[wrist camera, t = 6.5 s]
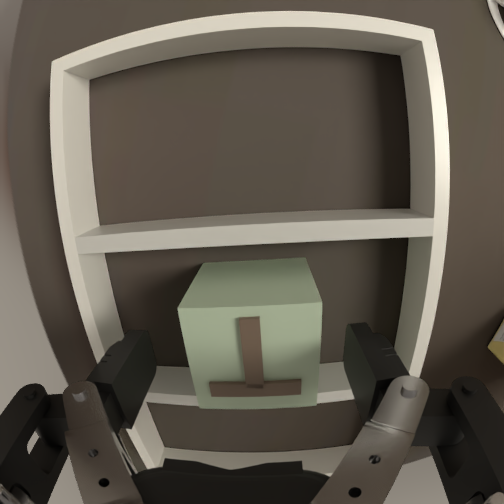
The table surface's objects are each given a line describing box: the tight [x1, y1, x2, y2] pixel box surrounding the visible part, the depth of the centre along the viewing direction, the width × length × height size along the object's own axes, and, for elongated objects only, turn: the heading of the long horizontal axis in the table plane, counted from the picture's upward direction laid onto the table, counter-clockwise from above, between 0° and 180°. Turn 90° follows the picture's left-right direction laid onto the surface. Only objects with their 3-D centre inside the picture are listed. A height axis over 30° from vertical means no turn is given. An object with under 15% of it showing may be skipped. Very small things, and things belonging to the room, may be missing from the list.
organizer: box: [50, 11, 450, 476], centre depth 14 cm, size 18×27×2 cm, turn 4°
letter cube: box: [177, 257, 322, 409], centre depth 13 cm, size 5×5×5 cm
